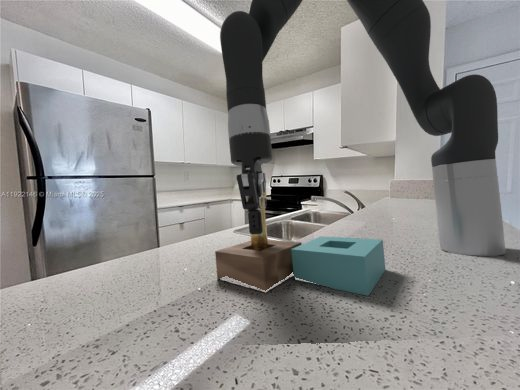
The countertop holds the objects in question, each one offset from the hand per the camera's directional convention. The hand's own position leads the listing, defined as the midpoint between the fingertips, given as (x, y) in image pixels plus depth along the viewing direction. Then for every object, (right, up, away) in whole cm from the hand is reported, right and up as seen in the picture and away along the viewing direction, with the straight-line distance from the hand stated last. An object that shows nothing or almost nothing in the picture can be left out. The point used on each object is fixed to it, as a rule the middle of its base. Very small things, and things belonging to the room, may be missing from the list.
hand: (258, 231), depth 38 cm
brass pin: (+1, -6, 0) cm, 6 cm away
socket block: (+14, -7, -3) cm, 15 cm away
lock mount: (+1, -8, 0) cm, 8 cm away
